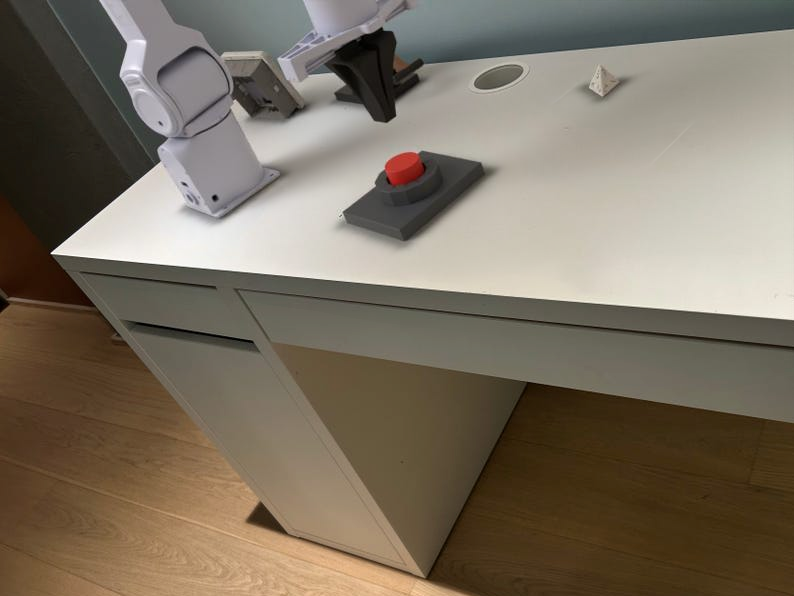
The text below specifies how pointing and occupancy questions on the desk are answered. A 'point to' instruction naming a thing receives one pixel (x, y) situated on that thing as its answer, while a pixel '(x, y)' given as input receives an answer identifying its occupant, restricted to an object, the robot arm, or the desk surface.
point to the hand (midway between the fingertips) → (385, 118)
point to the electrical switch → (261, 85)
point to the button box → (413, 196)
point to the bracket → (399, 89)
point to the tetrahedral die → (603, 81)
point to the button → (404, 168)
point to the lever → (405, 68)
